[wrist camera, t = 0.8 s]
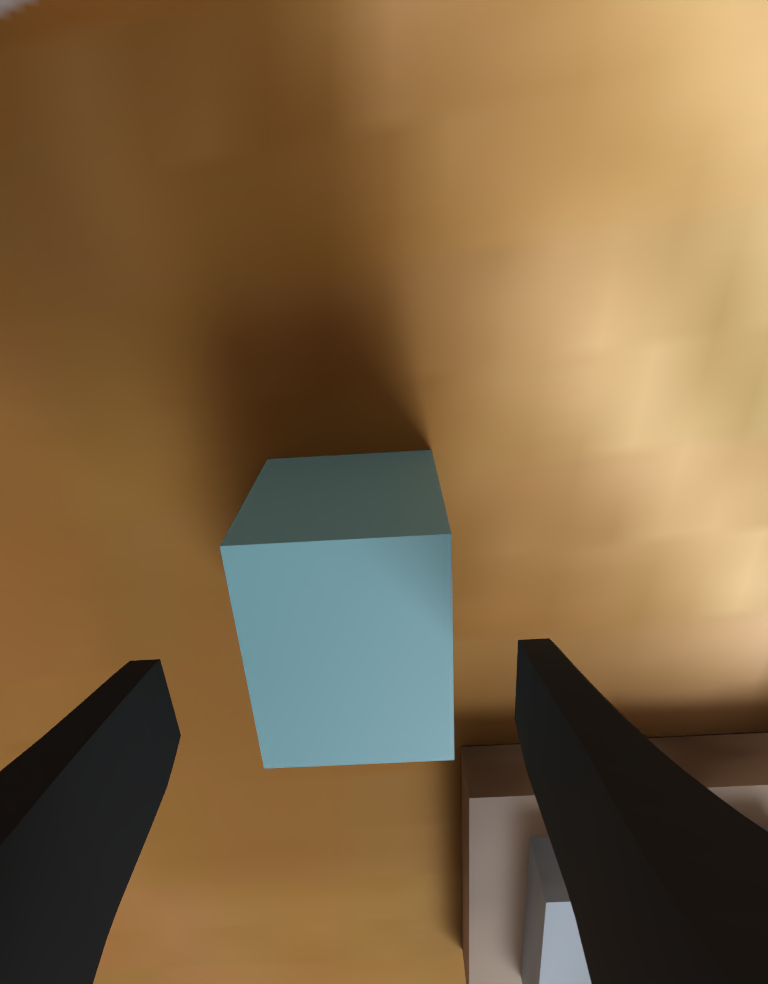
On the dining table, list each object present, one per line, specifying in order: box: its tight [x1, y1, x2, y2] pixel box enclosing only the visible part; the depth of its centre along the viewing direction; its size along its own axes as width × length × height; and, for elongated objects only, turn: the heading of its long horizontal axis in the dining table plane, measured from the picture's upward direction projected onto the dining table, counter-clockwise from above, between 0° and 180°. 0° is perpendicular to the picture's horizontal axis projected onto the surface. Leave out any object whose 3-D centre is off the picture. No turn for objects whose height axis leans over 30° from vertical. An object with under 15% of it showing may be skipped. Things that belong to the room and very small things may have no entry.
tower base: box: [461, 733, 768, 984], centre depth 20 cm, size 12×12×4 cm
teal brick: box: [220, 450, 454, 768], centre depth 14 cm, size 4×6×5 cm
